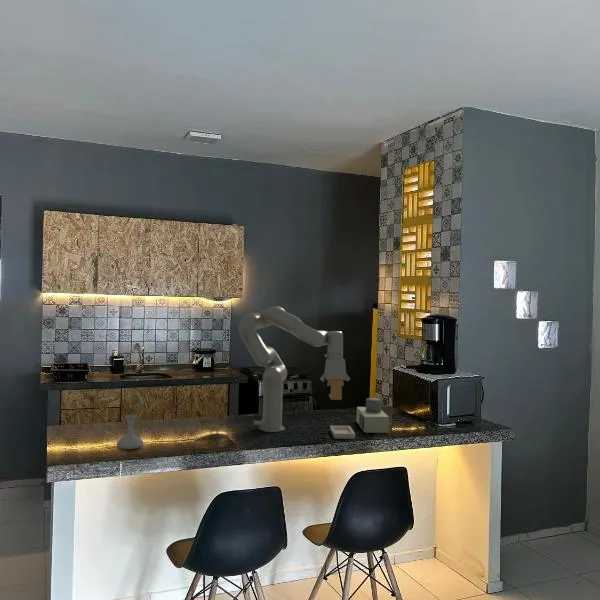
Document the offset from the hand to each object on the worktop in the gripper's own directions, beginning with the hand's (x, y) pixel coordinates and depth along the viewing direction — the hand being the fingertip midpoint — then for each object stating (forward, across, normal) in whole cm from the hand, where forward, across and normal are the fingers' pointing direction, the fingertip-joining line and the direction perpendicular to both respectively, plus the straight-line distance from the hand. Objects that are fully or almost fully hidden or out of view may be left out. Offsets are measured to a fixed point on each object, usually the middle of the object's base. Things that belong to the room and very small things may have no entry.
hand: (335, 393), depth 294 cm
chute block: (+2, 0, 0) cm, 2 cm away
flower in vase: (+18, -92, -28) cm, 98 cm away
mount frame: (+20, +4, 0) cm, 21 cm away
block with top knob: (+21, +21, +18) cm, 35 cm away
